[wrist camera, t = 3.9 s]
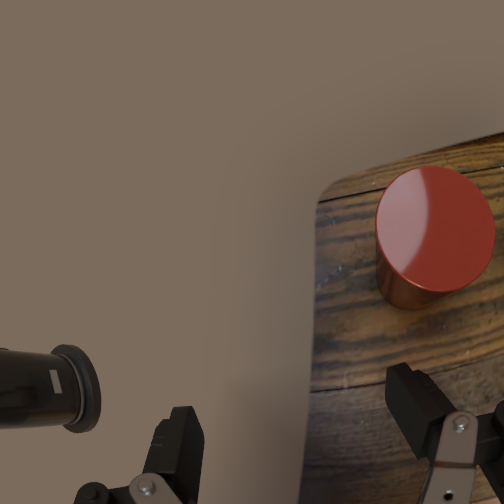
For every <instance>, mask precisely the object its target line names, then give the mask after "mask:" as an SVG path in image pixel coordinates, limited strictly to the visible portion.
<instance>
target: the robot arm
mask: <svg viewBox="0 0 504 504" xmlns="http://www.w3.org/2000/svg"><path fill="white" fill-rule="evenodd" d="M385 400H386V404H387V407H388V409H389V410H390V412H391V414H392V415H393V417H394V419H395V421H396V422H397V424H398V426H399V428H400V429H401V431H402V433H403V435H404V436H405V438H406V440H407V442H408V443H409V445H410V447H411V449H412V450H413V452H414V454H415V456H416V458H417V459H418V460H419V459H421V458H424V457H426V456H427V458H428V459H429V461H430V464H429V468H428V471H427V474H426V477H425V481H424V484H423V487H422V490H421V492H420V495H419V498H418V501H417V503H416V504H469V503H470V498H471V494H472V489H473V484H474V479H475V474H476V465H478V464H479V466H480V467H481V469H482V471H483V473H484V474H485V476H486V478H487V479H488V481H489V483H490V485H491V486H492V488H493V490H494V492H495V494H496V495H497V497H498V499H499V501H500V503H501V504H504V400H503V401H501V402H500V403H499V404H498V405H497V406H496V409H495V411H494V412H493V413H489V414H484V415H480V416H475V415H474V414H473V413H471V412H469V411H464V410H459V411H458V410H457V409H456V408H455V407H454V406H453V404H452V403H451V402H450V401H449V400H448V398H447V397H446V396H445V395H444V394H443V392H442V391H441V390H440V389H439V388H438V386H437V385H436V384H434V382H433V380H432V379H431V378H430V377H429V376H428V375H427V374H425V373H423V372H422V371H420V370H415V371H412V370H411V368H410V367H409V366H408V365H407V364H406V363H405V362H403V363H400V364H397V365H394V366H391V367H388V368H387V372H386V387H385ZM85 410H86V390H85V385H84V381H83V378H82V375H81V372H80V370H79V368H78V366H77V365H76V363H75V362H74V361H73V359H72V358H71V357H69V356H68V355H65V354H43V353H31V352H20V351H10V350H8V349H5V348H0V429H19V428H34V427H45V426H56V425H65V424H68V425H71V424H77V423H79V422H80V421H81V420H82V418H83V416H84V414H85ZM203 450H204V434H203V430H202V428H201V426H200V423H199V421H198V418H197V416H196V414H195V411H194V409H193V407H192V406H184V407H174V408H173V409H172V412H171V416H170V419H163V420H162V421H161V422H160V424H159V425H158V426H157V427H156V429H155V432H154V436H153V439H152V442H151V446H150V449H149V452H148V455H147V459H146V462H145V465H144V469H143V472H142V474H141V475H139V476H137V477H136V478H134V479H133V480H132V481H131V483H130V485H129V486H125V487H120V488H114V489H107V487H106V486H105V485H103V484H101V483H98V482H91V483H87V484H85V485H83V486H82V487H81V488H80V489H79V491H78V493H77V495H76V498H75V501H74V504H197V502H198V493H199V483H200V476H201V467H202V459H203Z"/></svg>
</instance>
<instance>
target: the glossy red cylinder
mask: <svg viewBox="0 0 504 504" xmlns="http://www.w3.org/2000/svg"><path fill="white" fill-rule="evenodd" d="M375 236H376V279H377V284H378V287H379V289H380V291H381V293H382V295H383V296H384V297H385V298H386V299H387V301H388V302H390V303H391V304H392V305H394V306H396V307H398V308H400V309H403V310H409V311H416V310H421V309H424V308H426V307H428V306H430V305H432V304H434V303H436V302H438V301H440V300H442V299H444V298H446V297H448V296H449V295H451V294H453V293H455V292H457V291H459V290H460V289H462V288H464V287H466V286H468V285H469V284H471V283H472V282H473V281H475V280H476V279H477V278H478V277H479V276H480V275H481V274H482V272H483V271H484V270H485V268H486V267H487V265H488V263H489V261H490V259H491V256H492V253H493V249H494V245H495V225H494V219H493V215H492V212H491V209H490V207H489V204H488V202H487V201H486V199H485V197H484V196H483V194H482V193H481V191H480V190H479V189H478V188H477V187H476V186H475V185H474V184H473V183H472V182H471V181H470V180H469V179H467V178H466V177H464V176H463V175H461V174H460V173H458V172H456V171H453V170H451V169H448V168H444V167H439V166H422V167H417V168H414V169H411V170H408V171H406V172H404V173H403V174H401V175H399V176H398V177H397V178H395V179H394V180H393V181H392V182H391V183H390V184H389V185H388V186H387V188H386V189H385V191H384V192H383V194H382V196H381V198H380V200H379V203H378V206H377V211H376V217H375Z"/></svg>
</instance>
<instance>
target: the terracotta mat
mask: <svg viewBox="0 0 504 504" xmlns="http://www.w3.org/2000/svg"><path fill="white" fill-rule="evenodd" d="M469 504H501V503H500V501H499V499H498V497H497V496H495V497H491V498H487V499H484V500H480V501H476V502H472V503H469Z"/></svg>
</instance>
